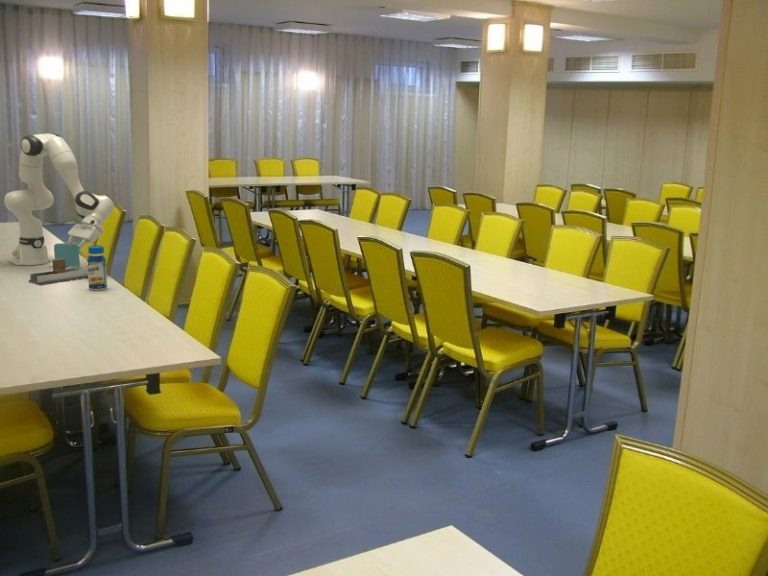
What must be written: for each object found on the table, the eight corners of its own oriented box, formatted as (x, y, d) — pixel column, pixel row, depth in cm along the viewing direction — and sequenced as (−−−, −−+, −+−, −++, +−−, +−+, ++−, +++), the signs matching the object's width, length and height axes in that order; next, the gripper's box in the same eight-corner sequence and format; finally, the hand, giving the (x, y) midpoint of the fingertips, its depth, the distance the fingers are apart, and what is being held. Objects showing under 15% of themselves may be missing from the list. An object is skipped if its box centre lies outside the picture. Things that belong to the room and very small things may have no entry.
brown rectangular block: (53, 277, 402) (52, 259, 400) (63, 276, 406) (61, 258, 404) (56, 278, 400) (55, 260, 398) (66, 277, 404) (65, 259, 402)
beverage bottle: (111, 288, 388) (109, 246, 384) (97, 291, 381) (95, 248, 376) (98, 286, 392) (96, 244, 388) (84, 289, 385) (82, 246, 380)
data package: (79, 265, 440) (78, 242, 438) (79, 266, 436) (78, 244, 434) (55, 266, 436) (53, 243, 433) (55, 267, 431) (54, 245, 429)
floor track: (28, 281, 397) (28, 273, 396) (78, 274, 417) (78, 266, 416) (40, 285, 390) (39, 277, 389) (90, 277, 410) (90, 269, 409)
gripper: (75, 218, 416) (58, 239, 411) (97, 222, 403) (80, 244, 398) (83, 226, 420) (67, 247, 415) (106, 230, 407) (89, 252, 402)
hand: (73, 246), depth 406 cm, fingers open, 8 cm apart
